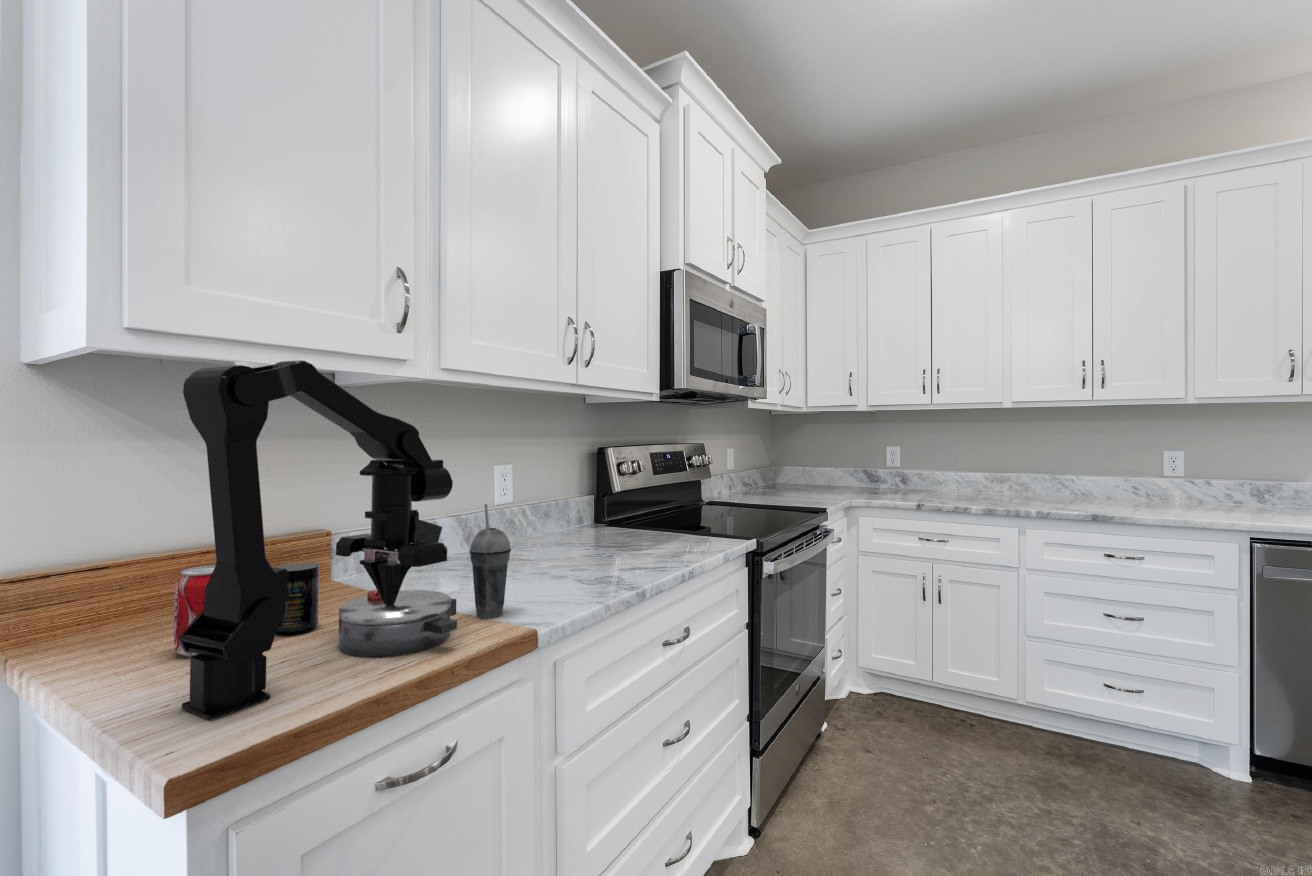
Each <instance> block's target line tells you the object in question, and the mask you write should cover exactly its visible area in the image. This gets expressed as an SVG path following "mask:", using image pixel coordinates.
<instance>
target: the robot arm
mask: <svg viewBox="0 0 1312 876" xmlns="http://www.w3.org/2000/svg"><path fill="white" fill-rule="evenodd" d="M182 389H183V390H182V394H183V397H184V401H185V406H186V408H187V411H188V415H189V418H190V421H191V422H192V424H193V426H194V428H195V429H196V430H197V432H198V433H199V434H200V437H201V438H202V439H203V441H204V443H205V447H206V455H207V465H208V476H209V477H208V479H209V489H210V490H209V491H210V500H211V501H210V502H211V513H212V522H213V523H212V524H213V526H212V527H213V533H214V534H213V537H214V546H215V556H216V557H215V558H216V560H215V561H216V562H215V565H216V566H215V565H214V566H215V568H214V570H213V572H212V575H211V577H210V579H209V581H208V583H207V585H206V588H205V598H204V608H203V610H202V611H201V612H200V613H199V615H198V616H197V617H196V618H195V619H194V620H193V621H192V622H191V623H190V625H189V626H188V627H187V628H186V629H185V630H184V631H183V632H182V633H181V635H180V636H179V641H180V643H181V646H182V648H183V650H184V652H192V653H196V654H198V655H195V656H191V657H189V659H190V660H189V700H187V701H186V702H185V701H184V702H183V703H181V709H182V710H183V709H184V710H185V711H188V712H190V713H192V714H195V715H197V716H199V717H203V718H204V719H207V720H214V719H218V718H220V717H222V716H226V715H228V714H232V713H233V712H237V711H239V710H241V709H245V708H247V707H250V706H254V705H255V704H260V703H261V702H264V701H267V700H268V699H271V693H269V692H266V691H265V690H266V688H267V662H268V661H267V659H268V658H267V656H266V655H265V654H264V653H265V652H268V651H270V650H271V648H272V646H273V643H274V640H275V638H276V636H277V635H276V632H277V629H278V626H279V623H280V621H281V620H282V619H284V617H285V614H286V607H287V604H286V601H288V602H290V601H291V597H290V596H289V593H288V573H287V570H286V569H282V568H275V567H276V566H272V565H271V563H270V561H269V560H268V558H267V555H266V547H265V546H266V545H265V543H266V542H265V533H264V523H263V522H264V518H263V509H262V507H263V506H262V497H261V496H262V495H261V482H260V471H259V459H258V458H259V457H258V445H257V444H258V438H259V437H260V434H261V433H262V430H263V428H264V426H265V424H266V422H267V420H268V416H269V405H270V402H271V401H276V400H279V399H280V400H281V399H283V398H287V397H289V396H290V397H292V398H293V399H295V401H296V400H297V401H298V402H299V403H301V404H303V405H305V406H306V407H308V408H309V409H311V410H312V411H314V412H316V413H317V414H319V415H321V416H322V417H324V418H325V419H326V420H328V421H330V422H331V423H333V424H335V425H336V426H337V427H338V426H339V427H340V428H341V429H343V430H345V431H346V432H348V433H349V434H350V435H351V436H353V438H354V440H355V442H356V445H357V446H358V447H359V448H360V449H361V450H362V451H363V452H364V453H365V454H366V455H367V456H369V457H370V458H371V460H370V462H368V464H366V466H365V467H363V468H362V469H361V470H360V471H359V475H360V476H364V477H365V476H368V477H371V507H370V508H371V510H367V511H365V512H364V519H369V520H370V519H371V520H370V534H369V533H361V534H354V535H346V536H341V537H340V538H339V540H338V541H337V542H336V543H335V544H336V545H335V556H339V557H350V556H351V555H352V554H353V553H354V554H355V553H359V552H363V553H364V554H363V559H362V560H359V564H360V565H362V566H363V568H364V570H365V571H366V572H367V574H368V576H369V578H370V580H371V581H372V583H373V585H374V586H375V588H376V590H378V592H379V594H380V596H381V598H382V600H383V602H384V604H385V605H387V606H391V605H394V603H395V601H396V598H397V595H398V593H399V591H401V588H402V584H403V583H404V581H405V577H406V575H407V574H408V571H409V570H410V569H411V568H412V567H413V568H417V567H418V568H419V567H420V568H421V567H425V566H429V565H433V564H440V563H443V562H447V561H448V547H447V546H446V545H445V544H444V543H443V542H439V541H440V537H441V534H442V530H443V526H440V525H437V524H434V523H432V522H429V521H425V520H421V519H420V513H419V511H418V509H413V508H412V507H413V506H412V505H413V504H412V503H413V502H414V503H415V502H416V503H417V502H426V501H436V500H443V499H445V498H447V497H448V496H449V495H450V493H451V492H452V489H453V485H454V484H453V481H454V480H453V478H452V476H451V474H450V472H449V470H448V469H446V467H444V460H443V459H432V458H431V456H430V454H429V453H428V450H427V449H426V447H425V445H424V443H423V441H422V439H421V438H420V431H419V430H418V429H417V428H416V426H415V425H413V424H411V423H409V422H406V421H404V420H401V419H400V418H397V417H393V416H390V415H386V414H383V413H380V412H378V411H377V410H374V409H373V408H372V407H370V406H368V405H367V404H366V403H364V402H363V401H362V400H360V399H358V398H357V397H355V396H354V395H353V394H352V393H350V392H348V391H347V390H346V389H344V388H343V387H342V386H340V385H339V384H338V383H335V382H334V381H333V380H331V379H330V378H329V377H327V376H326V375H324V374H323V373H321V372H320V371H319V370H318V369H317V367H315V365H314V364H313V363H310V362H308V361H306V360H300V359H299V360H285V361H278V362H276V363H274V364H269V365H265V366H263V365H262V366H258V367H251V366H248V365H247V366H246V365H227V366H211V367H203V368H200V369H197V370H195V371H193V373H191V374H190V375H189V376H188V377H187V378H185V380H184V383H183V388H182ZM231 633H232V634H231ZM230 634H231V635H230Z"/></svg>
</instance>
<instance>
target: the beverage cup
mask: <svg viewBox="0 0 1312 876" xmlns="http://www.w3.org/2000/svg"><path fill="white" fill-rule="evenodd" d="M488 509H489V507H488V503H485V504H484V517H485V527H486V528H483V529H480V530H479V532H478V533H476V534H475V535H474V537H473V539H472V541H471V544H470V549H469V552H468V553H470V555H469V556H470V562H471V565H472V577H473V578H472V579H473V592H474V604H475V611H476V617H477V618H479V619H483V620H484V619H485V620H487V619H489V620H490V619H496V618H499V617H501V616H503V615H504V614H503V611H504V605H505V596H506V595H505V594H506V585H507V577H508V576H507V575H508V564H509V562H510V561H509V560H510V555H511V552H512V549H511V543H510V542H511V541H510V540H509V538H508V536H507V534H506V533H505V532H504V531H503V530H501V529H499V528H497V527H496V528H494V527H490V522H489V510H488Z"/></svg>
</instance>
